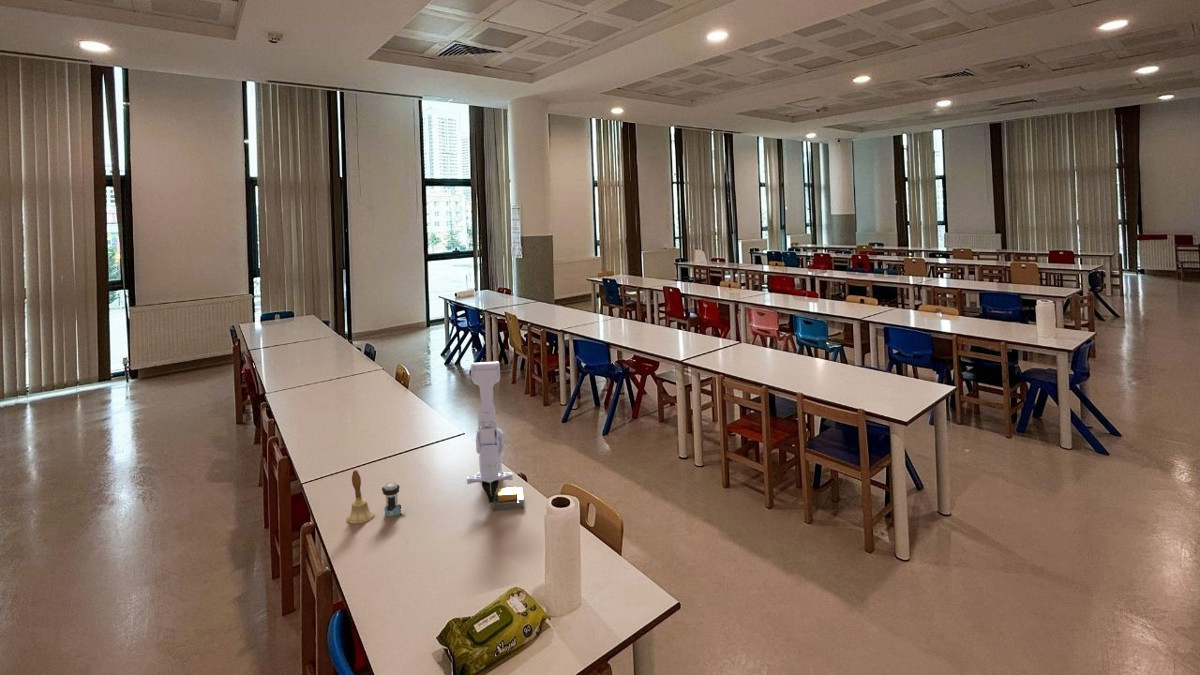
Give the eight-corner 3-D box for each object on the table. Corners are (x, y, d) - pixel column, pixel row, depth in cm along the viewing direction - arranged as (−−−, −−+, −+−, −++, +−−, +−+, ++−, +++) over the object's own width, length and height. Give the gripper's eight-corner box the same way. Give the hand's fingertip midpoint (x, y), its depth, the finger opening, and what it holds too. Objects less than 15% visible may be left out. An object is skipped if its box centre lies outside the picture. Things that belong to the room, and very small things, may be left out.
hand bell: (365, 525, 187) (360, 476, 184) (341, 523, 189) (335, 475, 186) (379, 512, 195) (375, 465, 192) (356, 510, 197) (351, 464, 194)
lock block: (499, 508, 197) (498, 495, 196) (498, 501, 202) (498, 488, 201) (517, 506, 198) (516, 493, 197) (516, 499, 203) (516, 487, 202)
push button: (408, 509, 196) (405, 481, 195) (403, 517, 191) (400, 488, 189) (387, 510, 196) (384, 481, 195) (381, 518, 191) (379, 488, 189)
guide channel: (493, 510, 195) (493, 502, 194) (493, 498, 203) (493, 490, 203) (523, 507, 196) (523, 499, 196) (522, 495, 205) (522, 487, 204)
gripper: (465, 469, 191) (468, 509, 193) (512, 465, 193) (514, 504, 196) (466, 461, 198) (469, 499, 200) (511, 457, 200) (513, 495, 203)
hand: (491, 501), depth 199 cm, fingers closed
